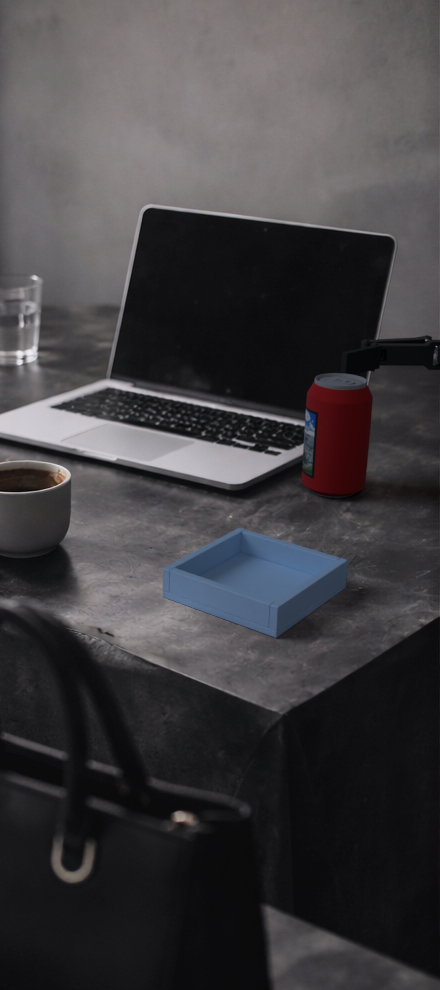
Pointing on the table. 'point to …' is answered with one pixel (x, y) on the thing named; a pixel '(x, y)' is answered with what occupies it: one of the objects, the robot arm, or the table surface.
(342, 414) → the beverage can
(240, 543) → the tray
